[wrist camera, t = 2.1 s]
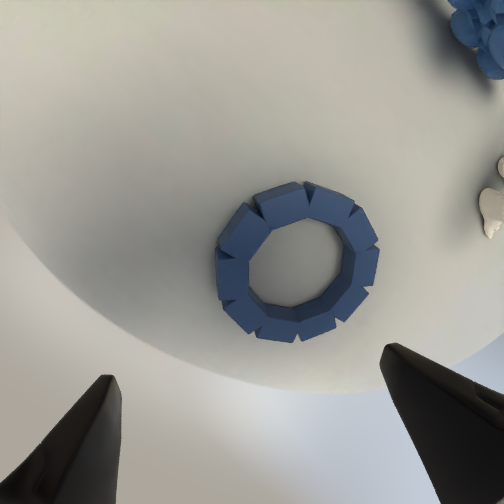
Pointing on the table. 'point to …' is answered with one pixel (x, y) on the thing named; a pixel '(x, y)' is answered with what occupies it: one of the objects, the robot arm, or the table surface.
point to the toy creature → (492, 206)
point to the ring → (254, 234)
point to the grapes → (481, 32)
